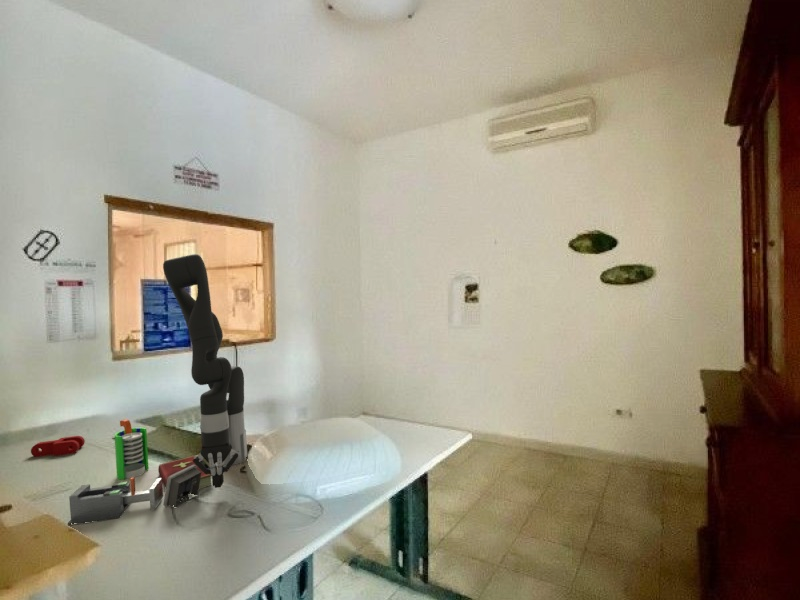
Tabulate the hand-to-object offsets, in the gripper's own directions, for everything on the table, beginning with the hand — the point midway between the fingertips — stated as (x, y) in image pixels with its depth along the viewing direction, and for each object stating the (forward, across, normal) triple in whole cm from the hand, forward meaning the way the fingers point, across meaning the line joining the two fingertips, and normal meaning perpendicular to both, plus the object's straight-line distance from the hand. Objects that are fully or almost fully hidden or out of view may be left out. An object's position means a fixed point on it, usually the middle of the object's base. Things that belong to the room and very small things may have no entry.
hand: (218, 486), depth 126 cm
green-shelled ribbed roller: (+3, +33, -26) cm, 42 cm away
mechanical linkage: (+3, +71, -58) cm, 92 cm away
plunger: (+2, +23, 0) cm, 23 cm away
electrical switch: (+3, +9, 0) cm, 10 cm away
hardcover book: (+4, +13, -15) cm, 21 cm away
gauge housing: (+3, +30, 0) cm, 30 cm away
